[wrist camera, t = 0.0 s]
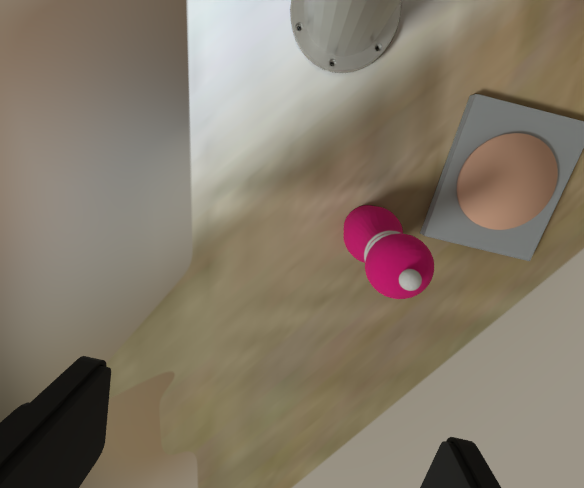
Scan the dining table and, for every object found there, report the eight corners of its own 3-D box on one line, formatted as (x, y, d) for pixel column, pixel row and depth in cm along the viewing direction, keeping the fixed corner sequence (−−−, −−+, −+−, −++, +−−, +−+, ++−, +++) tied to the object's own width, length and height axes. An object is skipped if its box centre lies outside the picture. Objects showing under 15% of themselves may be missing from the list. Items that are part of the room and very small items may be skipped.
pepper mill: (395, 203, 43) (469, 243, 24) (388, 253, 45) (450, 327, 26) (342, 199, 44) (373, 237, 24) (337, 250, 46) (362, 321, 26)
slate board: (469, 95, 39) (478, 92, 37) (584, 125, 40) (599, 123, 38) (420, 232, 44) (425, 236, 42) (522, 257, 45) (532, 262, 43)
